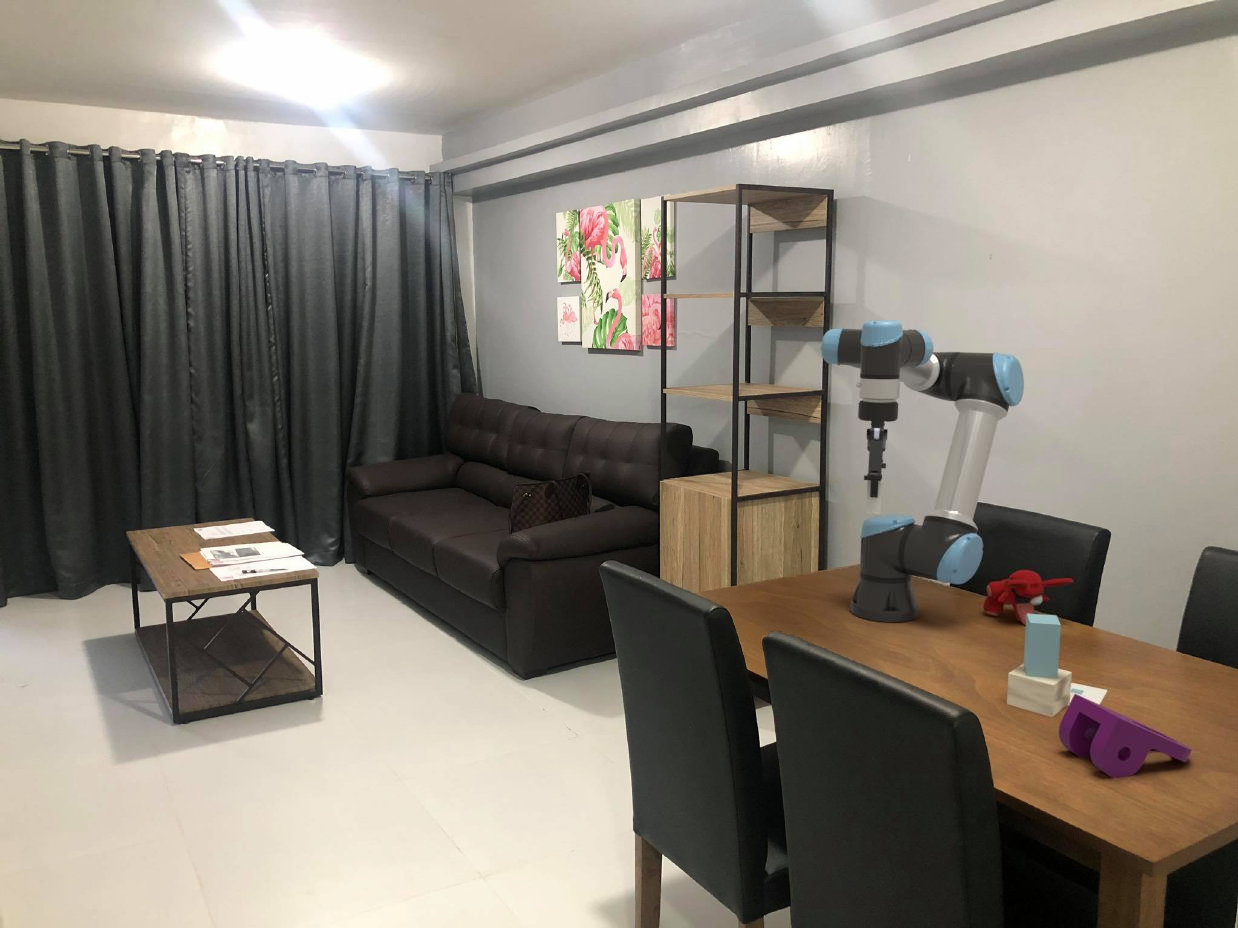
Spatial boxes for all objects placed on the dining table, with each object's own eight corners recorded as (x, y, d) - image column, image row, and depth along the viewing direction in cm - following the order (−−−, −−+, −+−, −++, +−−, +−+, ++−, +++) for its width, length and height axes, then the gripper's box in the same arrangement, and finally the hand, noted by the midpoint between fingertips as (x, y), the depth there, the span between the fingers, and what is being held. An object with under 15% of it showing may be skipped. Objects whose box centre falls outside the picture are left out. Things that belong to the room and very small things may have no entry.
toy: (976, 634, 227) (1017, 619, 212) (965, 582, 231) (1005, 564, 216) (1038, 631, 230) (1083, 617, 215) (1027, 580, 235) (1070, 562, 220)
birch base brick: (1025, 691, 182) (1027, 660, 181) (1069, 703, 177) (1071, 671, 175) (1006, 704, 177) (1008, 673, 176) (1051, 717, 171) (1053, 685, 170)
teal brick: (1023, 665, 179) (1026, 613, 177) (1053, 667, 177) (1056, 615, 176) (1027, 676, 174) (1030, 622, 172) (1057, 678, 173) (1060, 624, 171)
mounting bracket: (1134, 777, 162) (1050, 741, 157) (1158, 730, 162) (1074, 693, 157) (1181, 806, 153) (1092, 769, 148) (1206, 756, 152) (1118, 717, 147)
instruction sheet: (1056, 680, 188) (1056, 678, 188) (1107, 691, 183) (1107, 689, 183) (1041, 700, 178) (1041, 698, 178) (1095, 712, 173) (1095, 710, 173)
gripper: (861, 394, 204) (856, 494, 207) (856, 405, 180) (851, 518, 183) (898, 395, 202) (893, 496, 205) (898, 406, 178) (893, 520, 181)
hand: (873, 506), depth 194 cm, fingers open, 13 cm apart
